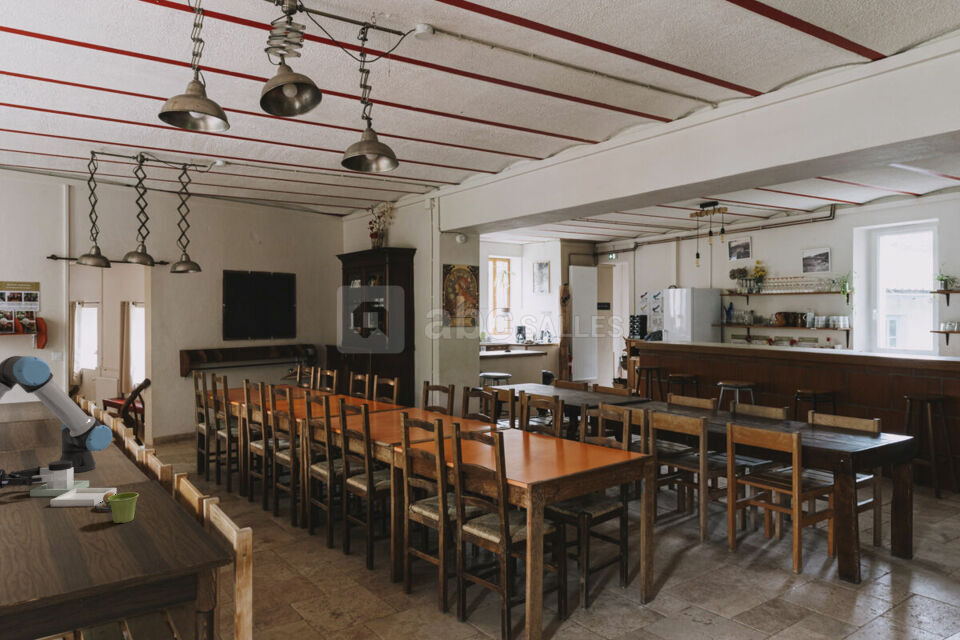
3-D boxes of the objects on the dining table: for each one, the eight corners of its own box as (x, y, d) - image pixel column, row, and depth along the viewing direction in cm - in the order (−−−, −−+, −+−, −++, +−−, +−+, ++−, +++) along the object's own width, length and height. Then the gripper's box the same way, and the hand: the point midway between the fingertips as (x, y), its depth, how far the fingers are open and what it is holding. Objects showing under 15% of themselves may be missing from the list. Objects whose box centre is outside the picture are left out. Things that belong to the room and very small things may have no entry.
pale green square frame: (52, 486, 262) (52, 480, 262) (89, 486, 263) (89, 480, 263) (30, 496, 248) (30, 490, 248) (68, 495, 249) (68, 489, 249)
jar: (46, 495, 249) (46, 465, 249) (47, 490, 256) (47, 461, 256) (73, 492, 254) (73, 462, 254) (73, 487, 261) (73, 458, 261)
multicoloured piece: (123, 512, 229) (123, 492, 229) (88, 513, 227) (88, 493, 227) (135, 502, 241) (135, 483, 241) (102, 504, 239) (102, 484, 239)
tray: (75, 494, 251) (75, 488, 251) (116, 493, 252) (116, 487, 252) (50, 506, 235) (50, 499, 235) (94, 505, 236) (94, 499, 236)
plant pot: (117, 527, 212) (117, 501, 212) (102, 522, 217) (102, 497, 217) (144, 519, 220) (144, 495, 220) (129, 514, 225) (129, 491, 225)
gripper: (0, 481, 257) (61, 476, 266) (-19, 497, 234) (49, 491, 243) (0, 463, 257) (61, 458, 266) (-19, 477, 234) (49, 471, 243)
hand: (55, 474), depth 254 cm, fingers open, 13 cm apart
